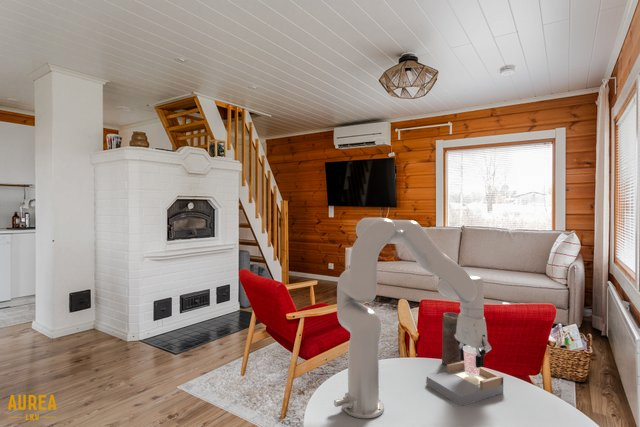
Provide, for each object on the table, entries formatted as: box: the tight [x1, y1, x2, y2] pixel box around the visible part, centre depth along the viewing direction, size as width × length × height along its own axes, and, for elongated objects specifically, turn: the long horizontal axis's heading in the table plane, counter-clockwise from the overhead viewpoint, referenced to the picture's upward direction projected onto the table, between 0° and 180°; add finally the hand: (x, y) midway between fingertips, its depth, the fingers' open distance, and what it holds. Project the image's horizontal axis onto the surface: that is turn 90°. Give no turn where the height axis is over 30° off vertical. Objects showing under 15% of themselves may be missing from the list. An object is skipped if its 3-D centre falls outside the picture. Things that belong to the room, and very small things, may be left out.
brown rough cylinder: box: [441, 311, 462, 366], centre depth 152 cm, size 8×7×20 cm
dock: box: [426, 360, 504, 406], centre depth 130 cm, size 19×16×6 cm
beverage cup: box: [463, 345, 481, 377], centre depth 132 cm, size 6×6×14 cm
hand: (472, 362), depth 132 cm, fingers closed on beverage cup, 6 cm apart
